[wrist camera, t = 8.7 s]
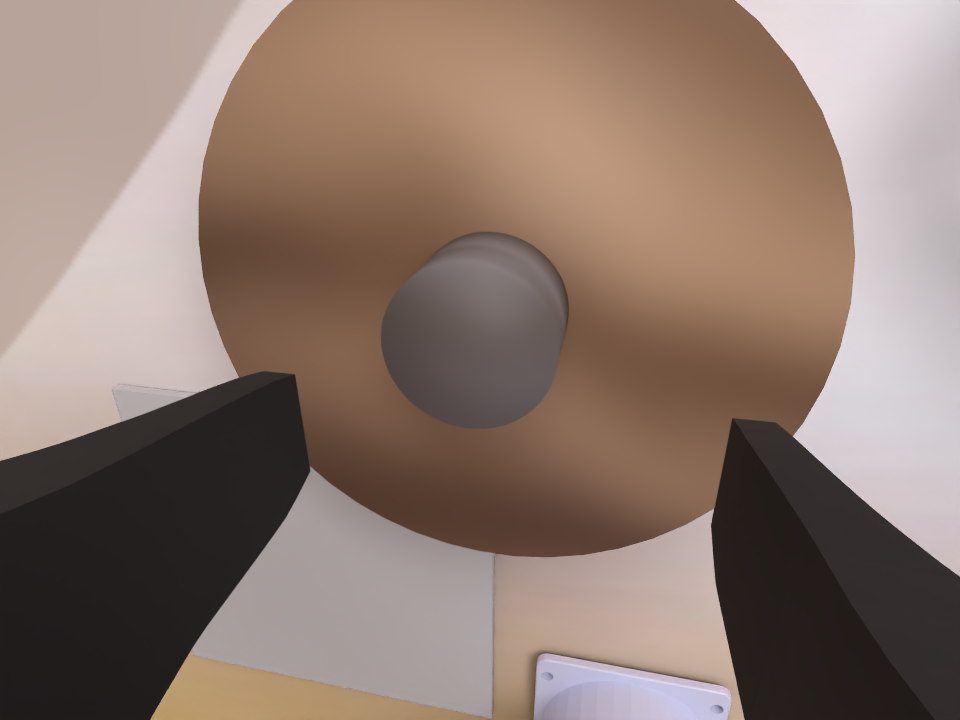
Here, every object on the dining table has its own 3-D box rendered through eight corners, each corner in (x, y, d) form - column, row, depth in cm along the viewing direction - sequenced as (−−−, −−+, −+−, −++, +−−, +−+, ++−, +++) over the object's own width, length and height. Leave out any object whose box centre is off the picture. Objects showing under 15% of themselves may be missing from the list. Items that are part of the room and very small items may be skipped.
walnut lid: (753, 585, 17) (775, 683, 14) (255, 495, 20) (196, 563, 17) (962, -81, 10) (1079, -130, 7) (159, -76, 13) (37, -111, 10)
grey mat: (493, 711, 29) (491, 718, 29) (198, 649, 33) (193, 655, 32) (495, 428, 22) (493, 433, 22) (119, 384, 26) (111, 388, 25)
